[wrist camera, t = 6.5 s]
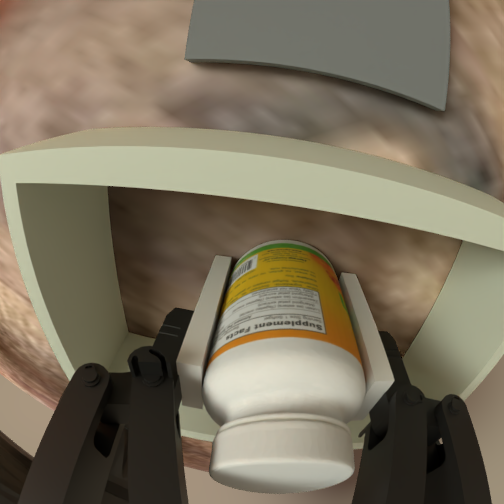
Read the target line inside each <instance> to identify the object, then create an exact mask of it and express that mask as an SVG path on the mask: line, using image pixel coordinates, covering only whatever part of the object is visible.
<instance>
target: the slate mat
mask: <svg viewBox="0 0 504 504" xmlns="http://www.w3.org/2000/svg"><path fill="white" fill-rule="evenodd" d="M185 60H187V61H189V62H217V63H238V64H251V65H262V66H271V67H279V68H286V69H293V70H299V71H305V72H310V73H315V74H320V75H325V76H330V77H334V78H339V79H343V80H347V81H351V82H355V83H358V84H362V85H366V86H369V87H372V88H376V89H379V90H382V91H385V92H388V93H391V94H394V95H397V96H400V97H403V98H406V99H408V100H411V101H414V102H416V103H419V104H421V105H424V106H426V107H429V108H431V109H433V110H436V111H445V106H446V98H447V89H448V78H449V63H450V9H449V0H194V4H193V9H192V14H191V20H190V26H189V32H188V38H187V45H186V52H185Z"/></svg>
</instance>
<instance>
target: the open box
mask: <svg viewBox="0 0 504 504" xmlns="http://www.w3.org/2000/svg"><path fill="white" fill-rule="evenodd" d="M0 178H1V186H2V194H3V200H4V206H5V211H6V217H7V222H8V226H9V231H10V235H11V239H12V243H13V247H14V251H15V255H16V258H17V262H18V265H19V268H20V271H21V274H22V278H23V281H24V284H25V286H26V289H27V292H28V295H29V297H30V300H31V303H32V305H33V308H34V310H35V313H36V315H37V318H38V320H39V322H40V325H41V327H42V329H43V331H44V333H45V336H46V338H47V340H48V342H49V344H50V346H51V348H52V350H53V352H54V354H55V356H56V358H57V360H58V362H59V363H60V365H61V367H62V369H63V371H64V372H65V374H66V376H67V378H68V379H69V381H70V380H71V378H72V376H73V375H74V373H75V371H76V370H77V369H78V368H79V367H80V366H82V365H84V364H87V363H98V364H100V365H102V366H104V367H105V368H106V370H107V371H108V372H115V373H124V372H130V369H129V366H128V362H127V360H128V358H129V355H130V354H131V353H132V352H133V351H134V350H136V349H138V348H140V347H143V346H153V344H154V342H155V339H154V338H149V337H145V336H141V335H137V334H133V333H129V332H128V327H127V323H126V319H125V314H124V309H123V304H122V299H121V294H120V289H119V283H118V277H117V271H116V265H115V258H114V251H113V243H112V235H111V226H110V215H109V203H108V186H119V187H134V188H147V189H158V190H170V191H180V192H190V193H199V194H208V195H217V196H226V197H234V198H242V199H249V200H257V201H264V202H271V203H278V204H284V205H291V206H297V207H304V208H310V209H316V210H322V211H328V212H334V213H339V214H345V215H350V216H356V217H361V218H366V219H371V220H376V221H381V222H386V223H391V224H396V225H401V226H405V227H410V228H414V229H419V230H423V231H428V232H432V233H436V234H440V235H444V236H449V237H453V238H457V239H461V240H463V242H462V244H461V247H460V249H459V252H458V254H457V257H456V259H455V261H454V264H453V266H452V268H451V271H450V273H449V275H448V277H447V279H446V282H445V284H444V286H443V288H442V290H441V292H440V294H439V296H438V298H437V300H436V302H435V304H434V306H433V308H432V309H431V311H430V313H429V315H428V317H427V319H426V320H425V322H424V324H423V326H422V327H421V329H420V331H419V333H418V334H417V336H416V338H415V339H414V341H413V342H412V344H411V346H410V347H409V349H408V350H407V352H406V354H405V355H404V357H403V358H402V360H403V363H404V366H405V368H406V371H407V374H408V377H409V380H410V383H411V385H413V386H416V387H417V388H419V389H420V390H421V391H422V392H423V394H424V396H425V397H426V398H429V399H434V400H439V401H441V400H442V399H443V398H444V397H445V396H446V395H448V394H455V395H457V396H459V397H460V398H461V399H462V400H463V401H464V400H466V398H467V397H468V396H469V395H470V394H471V393H472V392H473V391H474V390H475V389H476V388H477V386H478V385H479V384H480V383H481V382H482V381H483V380H484V378H485V377H486V376H487V375H488V373H489V372H490V371H491V370H492V369H493V367H494V366H495V365H496V364H497V362H498V361H499V360H500V358H501V357H502V356H503V354H504V203H502V202H501V201H499V200H497V199H496V198H494V197H492V196H491V195H488V194H486V193H484V192H481V191H479V190H477V189H474V188H472V187H469V186H467V185H464V184H462V183H459V182H456V181H454V180H451V179H448V178H445V177H443V176H440V175H437V174H434V173H431V172H428V171H425V170H422V169H419V168H416V167H413V166H409V165H406V164H403V163H399V162H396V161H392V160H389V159H385V158H381V157H378V156H374V155H370V154H366V153H362V152H358V151H353V150H349V149H344V148H340V147H335V146H330V145H325V144H320V143H315V142H310V141H304V140H298V139H292V138H285V137H279V136H272V135H264V134H256V133H248V132H238V131H228V130H215V129H201V128H179V127H119V128H99V129H89V130H84V131H79V132H75V133H70V134H66V135H62V136H58V137H54V138H51V139H47V140H43V141H40V142H36V143H33V144H30V145H26V146H23V147H20V148H17V149H14V150H11V151H8V152H5V153H3V154H0ZM179 415H180V429H181V436H185V437H190V438H195V439H200V440H205V441H210V442H213V440H214V438H215V437H216V433H217V431H218V430H219V428H220V426H219V425H218V424H217V423H216V422H215V421H214V420H213V419H212V418H211V417H210V415H209V414H208V412H207V410H206V408H205V405H203V410H202V409H197V408H192V407H187V406H182V400H181V403H180V407H179ZM370 421H371V420H370V415H369V414H368V415H367V416H366V417H365V418H364V419H363V420H357V421H350V422H349V423H347V424H346V425H347V426H348V427H349V428H350V430H351V438H352V445H353V449H362V448H363V445H364V437H365V434H364V435H363V436H362V437H361V438H359V437H358V436H359V433H360V432H361V431H362V430H363V429H364V428H365V427H366V426H367V425H368V423H369V422H370Z"/></svg>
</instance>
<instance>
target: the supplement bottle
mask: <svg viewBox="0 0 504 504" xmlns="http://www.w3.org/2000/svg"><path fill="white" fill-rule="evenodd" d="M365 393H366V383H365V377H364V371H363V367H362V363H361V359H360V355H359V351H358V347H357V343H356V340H355V336H354V332H353V329H352V325H351V321H350V318H349V314H348V311H347V308H346V304H345V301H344V298H343V294H342V291H341V288H340V285H339V282H338V279H337V276H336V273H335V271H334V269H333V266H332V265H331V263H330V262H329V260H328V259H327V258H326V257H325V256H324V255H323V254H322V253H321V252H320V251H319V250H317V249H316V248H314V247H312V246H310V245H308V244H306V243H303V242H299V241H294V240H274V241H269V242H265V243H262V244H260V245H258V246H256V247H254V248H252V249H251V250H249V251H248V252H246V253H245V254H244V255H243V256H242V257H241V258H240V259H239V260H238V262H237V263H236V265H235V266H234V268H233V270H232V273H231V275H230V278H229V281H228V285H227V288H226V292H225V296H224V300H223V304H222V308H221V312H220V316H219V320H218V324H217V328H216V332H215V336H214V339H213V343H212V347H211V351H210V355H209V359H208V363H207V366H206V370H205V375H204V381H203V387H202V397H203V403H204V405H205V408H206V410H207V412H208V414H209V415H210V417H211V418H212V419H213V420H214V421H215V422H216V423H217V424H218V425H219V426H220V428H219V430H218V431H217V433H216V437H215V438H214V440H213V443H212V454H211V460H210V467H209V473H210V476H211V477H212V478H213V479H214V480H215V481H217V482H218V483H221V484H223V485H225V486H229V487H232V488H235V489H239V490H245V491H250V492H258V493H274V494H275V493H277V494H285V493H299V492H307V491H313V490H318V489H323V488H327V487H330V486H333V485H336V484H338V483H340V482H343V481H345V480H346V479H348V478H349V477H350V476H352V474H353V473H354V469H355V465H354V452H353V445H352V438H351V430H350V428H349V427H348V426H347V425H346V424H347V423H349V422H350V421H351V420H352V419H353V418H354V417H355V415H356V414H357V413H358V411H359V410H360V408H361V406H362V404H363V401H364V398H365Z"/></svg>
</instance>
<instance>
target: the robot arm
mask: <svg viewBox="0 0 504 504" xmlns="http://www.w3.org/2000/svg"><path fill="white" fill-rule="evenodd" d="M230 267H231V257H226V256H219V255H216V256H215V258H214V261H213V263H212V266H211V268H210V271H209V274H208V276H207V279H206V281H205V284H204V287H203V289H202V292H201V295H200V297H199V300H198V303H197V305H196V308H195V311H192V310H186V309H180V308H175V309H173V310H172V311H171V312H170V313H169V314H167V316H166V318H165V320H164V322H163V325H162V326H161V329H160V331H159V333H158V335H157V337H156V339H155V342H154V344H153V346H143V347H140V348H138V349H136V350H134V351H133V352H132V353H131V354H130V355H129V358H128V360H127V362H128V366H129V369H130V372H124V373H115V372H108V371H107V370H106V368H105V367H104V366H102V365H100V364H98V363H87V364H84V365H82V366H80V367H79V368H78V369H77V370H76V371H75V373H74V375H73V376H72V378H71V380H70V382H69V384H68V386H67V388H66V389H65V391H64V393H63V395H62V396H61V398H60V400H59V403H58V406H57V408H56V410H55V412H54V414H53V416H52V418H51V420H50V422H49V424H48V427H47V429H46V431H45V433H44V436H43V438H42V440H41V442H40V445H39V447H38V449H37V452H36V455H35V457H33V456H31V455H30V454H29V453H27V452H26V451H25V450H23V449H22V448H21V447H19V446H18V445H17V444H16V443H14V442H13V441H12V440H11V439H9V438H8V437H7V436H6V435H5V434H4V433H3V432H1V431H0V504H188V496H187V489H186V481H185V473H184V463H183V453H182V442H181V429H180V415H179V407H180V403H181V400H182V406H187V407H192V408H197V409H202V410H203V405H204V403H203V397H202V387H203V381H204V375H205V370H206V366H207V363H208V359H209V355H210V351H211V347H212V343H213V339H214V336H215V332H216V328H217V324H218V320H219V316H220V312H221V308H222V304H223V300H224V296H225V292H226V288H227V285H228V281H229V278H230ZM339 285H340V288H341V291H342V294H343V298H344V301H345V304H346V308H347V311H348V314H349V318H350V321H351V325H352V329H353V332H354V336H355V340H356V343H357V347H358V351H359V355H360V359H361V363H362V367H363V371H364V377H365V383H366V393H365V398H364V401H363V404H362V406H361V408H360V410H359V411H358V413H357V414H356V415H355V417H354V418H353V419H352V420H351V421H357V420H363V419H364V418H365V417H366V416H367V415H368V414H369V415H370V420H371V421H370V422H369V423H368V425H367V426H366V427H365V428H364V429H363V430H362V431H361V432H360V433H359V436H358V437H359V438H361V437H362V436H363V435H364V434H365V437H364V445H363V451H362V457H361V463H360V468H359V474H358V478H357V483H356V488H355V492H354V496H353V500H352V504H492V503H491V496H490V490H489V485H488V481H487V475H486V471H485V467H484V462H483V458H482V455H481V451H480V447H479V444H478V440H477V437H476V434H475V431H474V428H473V424H472V421H471V418H470V415H469V413H468V410H467V407H466V405H465V403H464V401H463V400H462V399H461V398H460V397H459V396H457V395H455V394H448V395H446V396H445V397H444V398H443V399H442V400H441V401H439V400H434V399H429V398H426V397H425V396H424V394H423V392H422V391H421V390H420V389H419V388H417V387H416V386H413V385H411V383H410V380H409V377H408V374H407V371H406V368H405V366H404V363H403V360H402V358H401V355H400V352H399V351H398V347H397V345H396V342H395V340H394V339H393V337H392V336H391V335H390V334H389V333H388V332H384V331H378V330H377V327H376V324H375V322H374V319H373V316H372V314H371V311H370V309H369V306H368V304H367V301H366V298H365V296H364V293H363V291H362V289H361V286H360V284H359V281H358V279H357V277H356V274H350V273H343V272H342V273H341V276H340V279H339ZM440 438H442V442H443V444H440V442H439V439H440Z"/></svg>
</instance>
